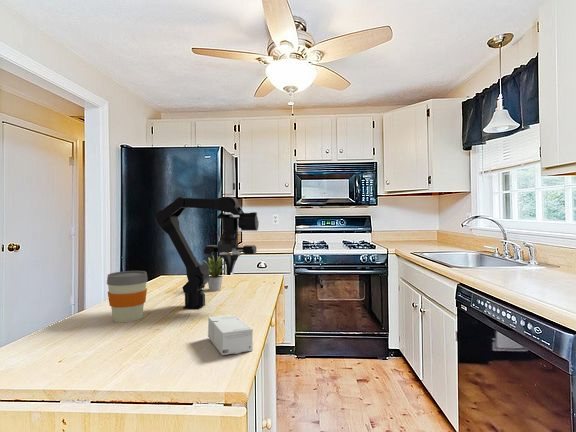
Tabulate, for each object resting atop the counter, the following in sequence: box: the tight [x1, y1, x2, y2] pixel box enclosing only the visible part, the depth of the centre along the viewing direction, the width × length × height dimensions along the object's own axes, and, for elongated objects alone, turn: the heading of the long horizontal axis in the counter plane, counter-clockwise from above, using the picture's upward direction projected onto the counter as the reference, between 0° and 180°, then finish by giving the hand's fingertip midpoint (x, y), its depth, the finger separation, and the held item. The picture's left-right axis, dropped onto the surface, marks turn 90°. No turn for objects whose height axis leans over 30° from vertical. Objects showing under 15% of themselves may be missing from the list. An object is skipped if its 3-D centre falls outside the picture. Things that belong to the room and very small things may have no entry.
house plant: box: [202, 255, 228, 292], centre depth 161 cm, size 14×14×16 cm
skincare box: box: [207, 313, 254, 356], centre depth 95 cm, size 8×6×15 cm
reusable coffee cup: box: [106, 270, 149, 323], centre depth 119 cm, size 12×13×15 cm
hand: (230, 272), depth 131 cm, fingers closed
